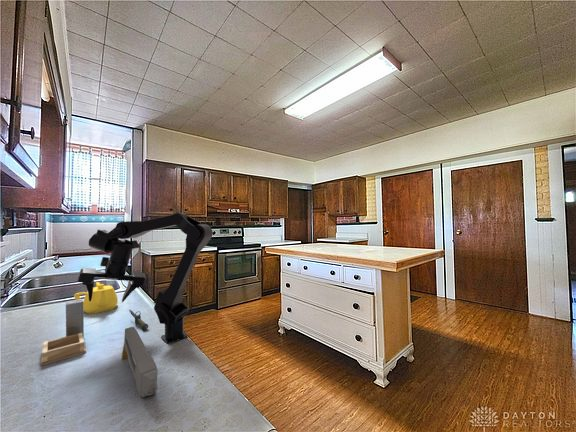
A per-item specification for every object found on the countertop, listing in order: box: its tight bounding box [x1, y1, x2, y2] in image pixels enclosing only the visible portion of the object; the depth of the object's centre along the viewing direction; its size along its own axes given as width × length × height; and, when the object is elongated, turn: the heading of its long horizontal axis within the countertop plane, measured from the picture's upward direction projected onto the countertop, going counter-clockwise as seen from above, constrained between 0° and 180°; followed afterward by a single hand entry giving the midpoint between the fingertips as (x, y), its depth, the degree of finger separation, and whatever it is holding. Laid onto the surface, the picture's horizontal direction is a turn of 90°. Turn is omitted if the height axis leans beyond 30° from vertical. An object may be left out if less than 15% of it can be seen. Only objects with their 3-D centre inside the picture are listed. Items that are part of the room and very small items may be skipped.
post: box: [65, 298, 85, 338], centre depth 86 cm, size 4×4×12 cm
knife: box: [128, 309, 149, 331], centre depth 96 cm, size 19×2×5 cm, turn 49°
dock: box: [40, 333, 87, 366], centre depth 75 cm, size 10×10×3 cm
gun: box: [121, 326, 158, 398], centre depth 64 cm, size 3×25×15 cm, turn 44°
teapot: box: [73, 281, 119, 315], centre depth 114 cm, size 22×16×11 cm
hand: (106, 301), depth 86 cm, fingers open, 9 cm apart
